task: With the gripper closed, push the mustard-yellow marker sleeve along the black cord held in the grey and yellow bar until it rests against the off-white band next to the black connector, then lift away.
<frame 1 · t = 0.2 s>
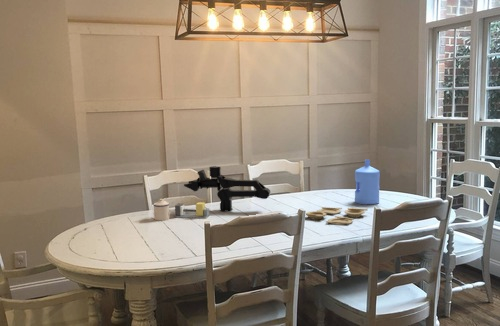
hand: (186, 183, 291), 16 cm above the table, tool horizontal, fingers open, 9 cm apart
tableware set: (334, 218, 267), on the table
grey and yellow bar: (193, 216, 274), on the table
water jug: (366, 202, 305), on the table
sleeve: (200, 209, 273), point 5 cm above the table, slide at 0.0 cm
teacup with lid: (160, 218, 271), on the table
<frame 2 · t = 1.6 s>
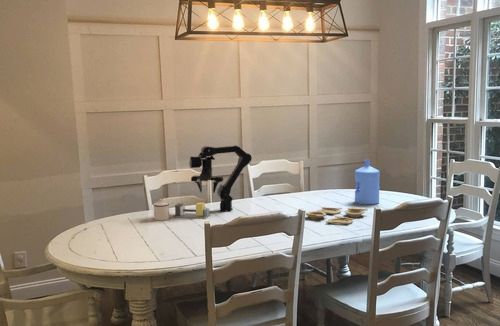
hand: (207, 192, 283), 12 cm above the table, tool pointing down, fingers open, 8 cm apart
nothing on the table moved.
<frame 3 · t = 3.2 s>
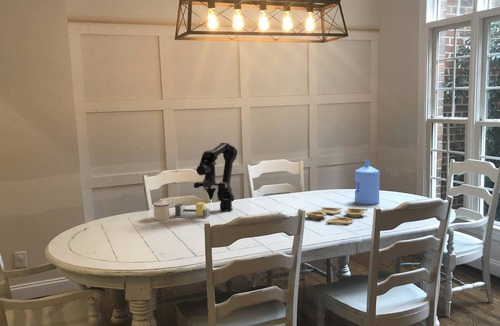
hand: (210, 199, 271), 10 cm above the table, tool pointing down, fingers closed
nothing on the table moved.
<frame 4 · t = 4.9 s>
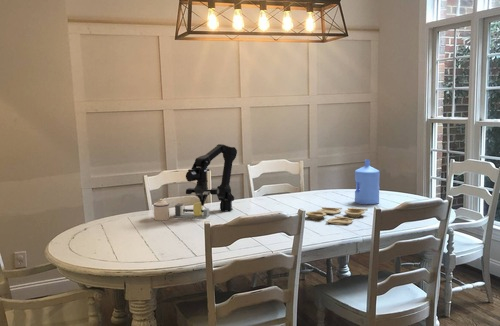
hand: (202, 205, 272), 7 cm above the table, tool pointing down, fingers closed
sleeve: (198, 209, 273), point 5 cm above the table, slide at 1.5 cm, touching gripper
everything else where it was.
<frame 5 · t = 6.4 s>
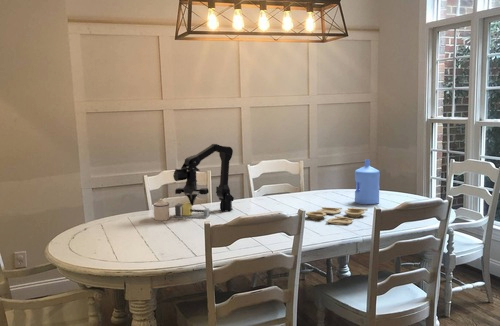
hand: (192, 205, 273), 7 cm above the table, tool pointing down, fingers closed
sleeve: (187, 208, 274), point 5 cm above the table, slide at 8.0 cm, touching gripper
everything else where it was.
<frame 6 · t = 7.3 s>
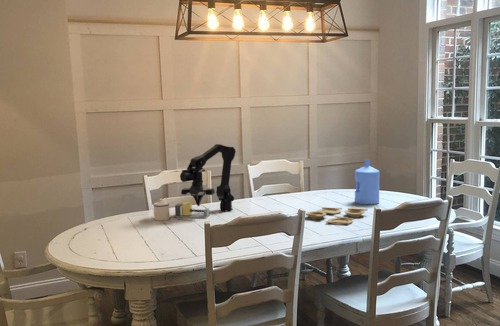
hand: (198, 206, 273), 6 cm above the table, tool pointing down, fingers closed
sleeve: (187, 208, 274), point 5 cm above the table, slide at 8.0 cm
everything else where it was.
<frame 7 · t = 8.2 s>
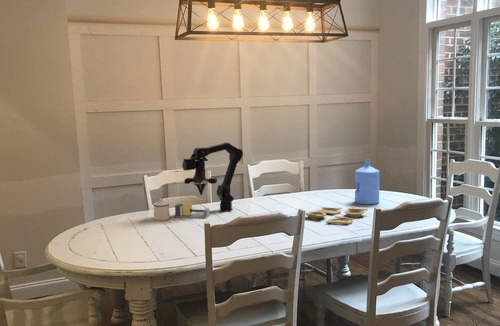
hand: (201, 194, 278), 12 cm above the table, tool pointing down, fingers closed
nothing on the table moved.
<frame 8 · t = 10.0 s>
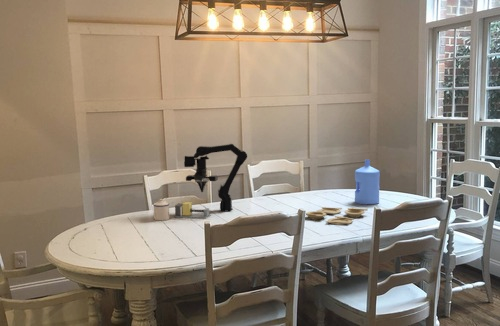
hand: (202, 192, 286), 12 cm above the table, tool pointing down, fingers closed
nothing on the table moved.
at the end: sleeve slide at 8.0 cm; sleeve 0.0 cm from the target spot, resting on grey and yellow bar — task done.
